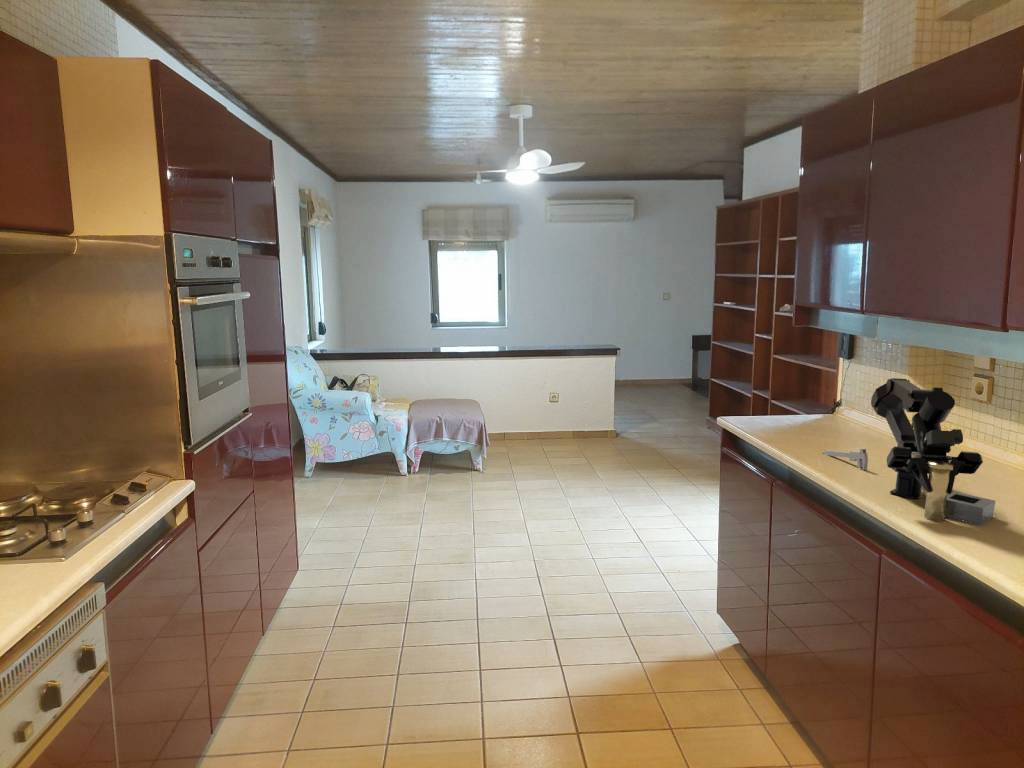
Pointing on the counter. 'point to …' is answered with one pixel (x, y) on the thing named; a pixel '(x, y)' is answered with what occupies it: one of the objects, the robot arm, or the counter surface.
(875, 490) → the counter surface
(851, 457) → the caliper
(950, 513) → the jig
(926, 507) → the flanged metal cylinder
